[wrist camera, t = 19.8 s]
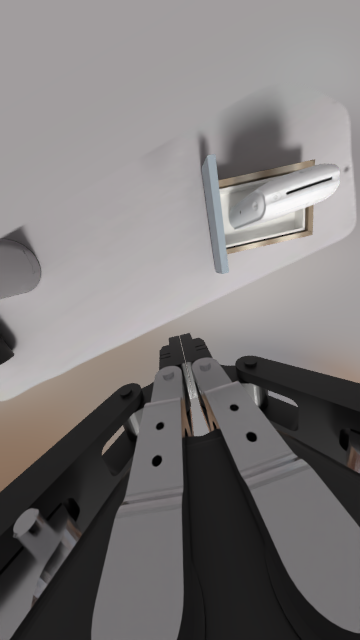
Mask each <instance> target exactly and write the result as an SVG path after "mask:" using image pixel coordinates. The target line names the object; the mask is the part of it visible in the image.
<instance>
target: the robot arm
mask: <svg viewBox="0 0 360 640" xmlns="http://www.w3.org/2000/svg"><path fill="white" fill-rule="evenodd" d="M40 277H41V270H40V266H39V263H38V261H37V259H36V257H35V256H34V255H33V253H32V252H31V251H30V250H29V249H27V248H26V247H25V246H23V245H22V244H20V243H18V242H15V241H12V240H7V239H0V299H2V298H6V297H11V296H15V295H19V294H23V293H27V292H29V291H31V290H33V289H34V288H35V287H36V286H37V285H38V283H39V281H40ZM180 339H181V343H182V347H183V351H184V355H183V351H182V347H181V343H180ZM184 356H185V360H186V364H187V368H188V372H189V377H190V380H191V385H192V389H193V393H194V397H195V398H196V397H198V398H199V402H200V406H201V410H202V413H203V416H204V419H205V421H206V424H207V427H208V429H209V433H208V434H206V435H204V436H194V431H193V422H192V412H191V408H190V407H191V402H190V399H193V394H192V390H191V386H190V381H189V377H188V373H187V368H186V364H185V360H184ZM235 365H236V366H224V365H220V364H219V363H218V361H217V360H215V359H213V358H212V356H211V354H210V352H209V350H208V348H207V346H206V345H205V342H204V340H202V339H200V338H196V339H192V337H191V335H190V333H187V334H184V335H180V338H179V336H175V337H171V338H169V345H167V346H163V347H162V349H161V350H160V362H159V371H158V372H157V374H156V375H155V380H154V382H153V383H151V384H150V385H148V386H146V387H144V388H142V389H141V387H140V385H138V384H135V383H131V384H127V385H124V386H122V387H121V388H119V389H118V390H117V391H116V392H114V393H113V394H112V395H111V396H110V397H109V398H108V399H106V400H105V401H104V402H103V403H102V404H101V405H100V406H98V407H97V408H96V409H95V410H94V411H93V412H92V413H90V414H89V415H88V416H87V417H86V418H85V419H84V420H82V421H81V422H80V423H79V424H78V425H77V426H76V427H74V428H73V429H72V430H71V431H70V432H69V433H68V434H67V435H65V436H64V437H63V438H62V439H61V440H60V441H58V442H57V443H56V444H55V445H54V446H53V447H52V448H50V449H49V450H48V451H47V452H46V453H45V454H44V455H42V456H41V457H40V458H39V459H38V460H37V461H36V462H34V463H33V464H32V465H31V466H30V467H29V468H28V469H26V470H25V471H24V472H23V473H22V474H21V475H20V476H18V477H17V478H16V479H15V480H14V481H13V482H11V483H10V484H9V485H8V486H7V487H6V488H5V489H4V490H2V491H1V492H0V640H360V383H355V382H352V381H348V380H345V379H341V378H337V377H333V376H329V375H325V374H322V373H318V372H314V371H310V370H306V369H303V368H299V367H295V366H291V365H287V364H283V363H280V362H276V361H272V360H268V359H264V358H261V357H256V356H244V357H241V358H240V359H238V360H237V361H236V364H235ZM268 390H269V391H272V392H275V393H277V394H280V395H283V396H285V397H288V398H290V399H292V400H294V402H295V403H296V404H297V405H298V407H296V406H293V405H291V404H289V403H286V402H284V401H281V400H279V399H276V398H273V397H271V396H269V395H268ZM122 425H123V427H124V429H125V431H124V432H123V433H122V434H121V435H120V436H119V437H118V439H117V440H116V441H115V442H114V443H113V444H112V445H111V446H110V448H109V449H108V450H107V451H106V452H105V453H104V454H103V455H102V450H103V447H104V445H105V444H106V442H107V441H108V440H109V439H110V438H111V437H112V436H113V435H114V434H115V433H116V432H117V430H118V429H119V428H120V427H121V426H122Z"/></svg>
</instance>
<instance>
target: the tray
mask: <svg viewBox="0 0 360 640" xmlns="http://www.w3.org/2000/svg"><path fill="white" fill-rule="evenodd" d="M201 170H202V177H203V184H204V191H205V198H206V205H207V212H208V220H209V227H210V234H211V241H212V248H213V255H214V262H215V269H216V272H217V273H221V274H224V273H228V272H229V268H228V260H227V251H226V248H227V247H231V246H236V245H240V244H244V243H249V242H253V241H258V240H262V239H266V238H271V237H275V236H280V235H284V234H288V233H293V232H297V231H302V230H305V208H303V209H300V210H298V211H295V212H292V213H289V214H287V215H284V216H281V217H279V218H276V219H273V220H270V221H267V222H264V223H261V224H258V225H254V226H251V227H248V228H244V229H239V230H234V228H233V227H232V226H231V224H230V222H229V214H230V212H231V207H233V206H234V205H236V204H237V203H238V202H240V201H241V200H242V199H244V198H245V197H247V196H248V195H249V194H251V193H252V192H253V191H255V190H256V189H257V188H259V187H261V186H262V185H264V184H266V183H268V182H270V181H272V180H274V179H276V178H279V177H281V176H277V177H273V178H268V179H264V180H259V181H255V182H250V183H245V184H241V185H236V186H232V187H227V188H223V189H219V182H218V174H217V165H216V157H215V154H212V155H208V156H207V157H206V159H205V162H204V164H203V166H202V168H201ZM282 176H284V175H282Z"/></svg>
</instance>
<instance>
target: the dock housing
mask: <svg viewBox="0 0 360 640" xmlns="http://www.w3.org/2000/svg"><path fill="white" fill-rule="evenodd" d="M311 166H315V159H314V160H310V161H305V162H301V163H296V164H291V165H287V166H282V167H278V168H273V169H268V170H264V171H259V172H255V173H250V174H245V175H241V176H236V177H232V178H227V179H222V180H218V182H219V189H223V188H227V187H232V186H236V185H241V184H245V183H250V182H255V181H259V180H264V179H268V178H273V177H277V176H282V175H287V174H289V173H292V172H295V171H298V170H301V169H305V168H308V167H311ZM312 232H313V205H311V206H309V207H306V208H305V230H302V231H297V232H294V234H290V235H286V236H281V237H277V238H272V239H268V240H264V241H259V242H255V243H250V244H246V245H242V246H237V247H233V248H228V249H226V251H227V254H230V253H235V252H239V251H243V250H248V249H252V248H257V247H261V246H265V245H270V244H274V243H279V242H283V241H287V240H292V239H296V238H301V237H305V236H309V235H312Z"/></svg>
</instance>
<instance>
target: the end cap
mask: <svg viewBox="0 0 360 640" xmlns="http://www.w3.org/2000/svg"><path fill="white" fill-rule="evenodd" d="M13 356H14V353H13V352H12V350H11V349H10V348H9V347H8V346H7V344H6V343H5V342H4V341H3V339H2V338H1V337H0V365H1V364H2V363H4V362H6V361H7V360H9V359H10V358H12V357H13Z"/></svg>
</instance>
